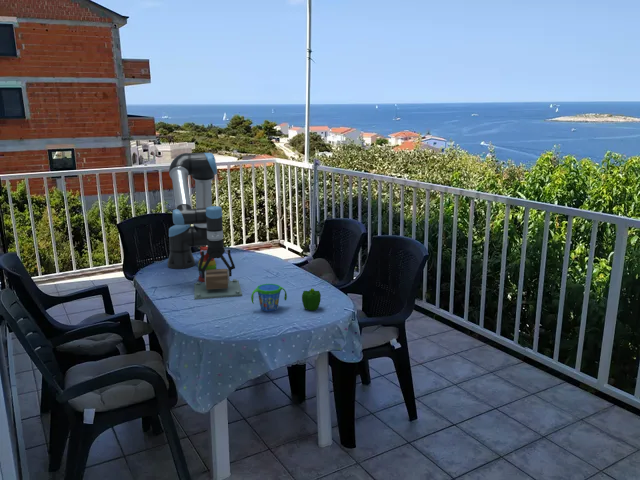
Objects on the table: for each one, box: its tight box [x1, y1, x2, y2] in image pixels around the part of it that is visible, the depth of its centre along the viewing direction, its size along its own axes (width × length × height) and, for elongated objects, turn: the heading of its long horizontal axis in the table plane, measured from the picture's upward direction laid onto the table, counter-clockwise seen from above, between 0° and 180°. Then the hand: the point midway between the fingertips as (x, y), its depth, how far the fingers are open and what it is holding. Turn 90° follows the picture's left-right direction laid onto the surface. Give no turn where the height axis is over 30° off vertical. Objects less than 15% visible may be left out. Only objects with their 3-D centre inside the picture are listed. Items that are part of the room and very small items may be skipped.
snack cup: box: [250, 283, 288, 313], centre depth 228 cm, size 16×10×10 cm
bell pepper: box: [301, 288, 322, 312], centre depth 228 cm, size 8×8×10 cm
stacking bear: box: [197, 246, 218, 283], centre depth 269 cm, size 11×10×18 cm
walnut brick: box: [206, 268, 228, 289], centre depth 253 cm, size 13×10×6 cm
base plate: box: [193, 278, 243, 300], centre depth 254 cm, size 22×22×2 cm
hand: (217, 283), depth 253 cm, fingers closed on walnut brick, 10 cm apart
